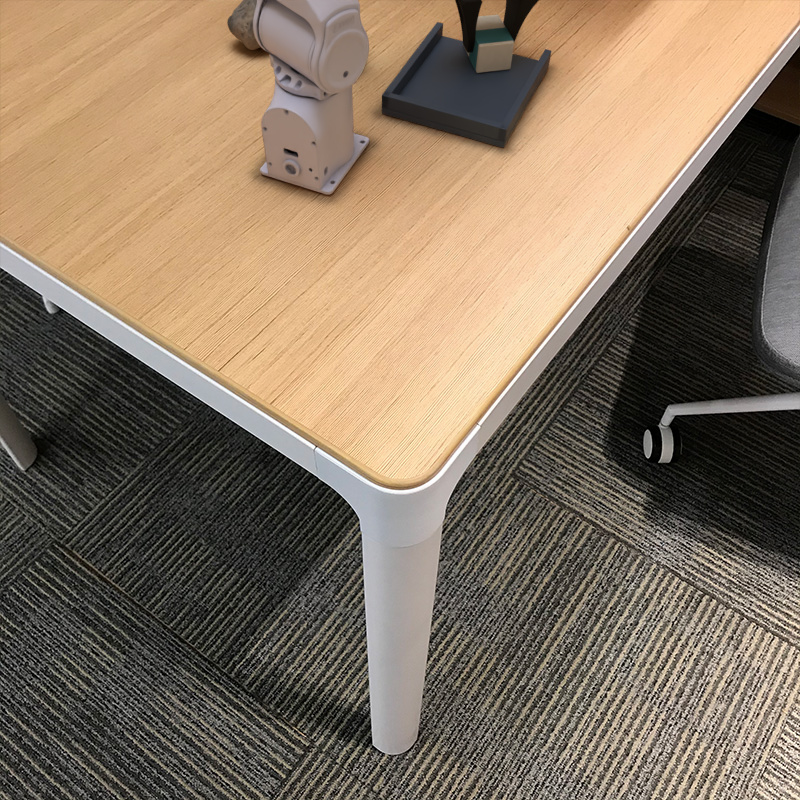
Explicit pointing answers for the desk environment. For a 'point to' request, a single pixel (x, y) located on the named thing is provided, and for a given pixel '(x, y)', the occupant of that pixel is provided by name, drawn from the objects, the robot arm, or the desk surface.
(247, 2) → the stone
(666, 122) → the desk surface
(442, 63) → the tray
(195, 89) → the desk surface
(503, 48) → the eraser
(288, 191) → the desk surface
